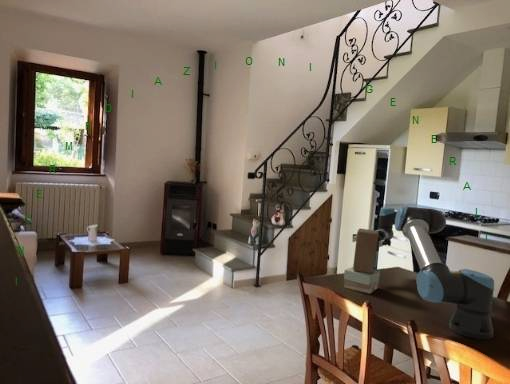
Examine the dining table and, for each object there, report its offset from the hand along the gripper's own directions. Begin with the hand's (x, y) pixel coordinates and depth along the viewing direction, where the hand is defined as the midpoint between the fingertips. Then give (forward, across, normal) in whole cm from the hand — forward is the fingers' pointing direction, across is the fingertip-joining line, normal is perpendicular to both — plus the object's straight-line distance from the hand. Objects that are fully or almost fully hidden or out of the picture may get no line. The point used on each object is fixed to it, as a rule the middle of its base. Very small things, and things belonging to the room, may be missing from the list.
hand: (366, 241), depth 209 cm
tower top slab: (+5, -1, -18) cm, 19 cm away
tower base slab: (+4, -1, -23) cm, 23 cm away
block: (+4, -2, -14) cm, 15 cm away
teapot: (-22, -43, -23) cm, 53 cm away
